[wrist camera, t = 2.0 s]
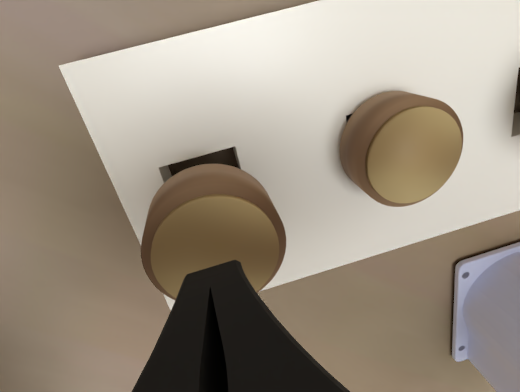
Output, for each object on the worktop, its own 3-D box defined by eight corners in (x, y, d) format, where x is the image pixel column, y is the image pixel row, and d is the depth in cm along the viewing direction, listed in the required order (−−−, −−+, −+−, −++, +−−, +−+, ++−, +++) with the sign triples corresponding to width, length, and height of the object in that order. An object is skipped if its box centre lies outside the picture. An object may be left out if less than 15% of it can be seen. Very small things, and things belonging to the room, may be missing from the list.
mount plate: (545, 172, 21) (588, 188, 19) (175, 285, 19) (174, 317, 17) (583, -65, 16) (649, -83, 14) (79, 61, 14) (58, 65, 12)
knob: (270, 223, 16) (299, 289, 11) (174, 252, 15) (169, 331, 11) (247, 130, 14) (272, 169, 10) (136, 160, 13) (114, 214, 9)
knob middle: (403, 158, 18) (466, 192, 14) (325, 181, 18) (366, 223, 14) (400, 73, 16) (471, 84, 12) (313, 96, 16) (356, 116, 12)
